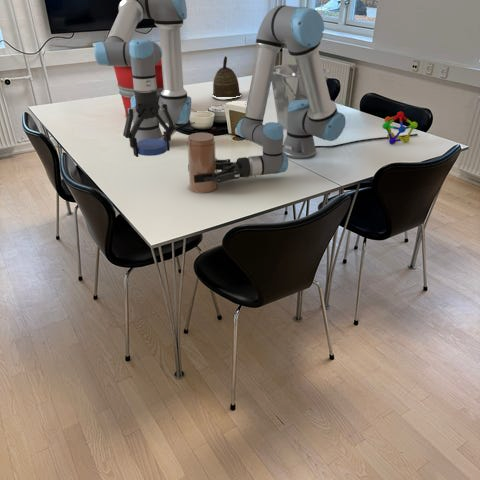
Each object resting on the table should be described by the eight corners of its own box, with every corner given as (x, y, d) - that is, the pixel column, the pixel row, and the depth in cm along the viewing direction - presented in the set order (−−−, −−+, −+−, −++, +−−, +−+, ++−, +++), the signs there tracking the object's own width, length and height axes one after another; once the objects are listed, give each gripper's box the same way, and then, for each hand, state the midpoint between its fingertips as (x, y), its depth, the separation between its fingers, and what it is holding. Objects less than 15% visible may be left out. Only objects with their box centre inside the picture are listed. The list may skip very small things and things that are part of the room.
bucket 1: (125, 105, 263) (118, 51, 247) (184, 106, 262) (180, 52, 246) (109, 123, 234) (99, 63, 218) (175, 124, 233) (170, 64, 217)
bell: (227, 105, 294) (202, 96, 282) (238, 66, 289) (213, 55, 277) (243, 108, 280) (217, 98, 268) (255, 66, 275) (229, 55, 263)
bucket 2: (296, 138, 215) (301, 78, 201) (255, 124, 234) (256, 68, 219) (335, 125, 232) (342, 70, 217) (294, 113, 251) (297, 61, 236)
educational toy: (377, 146, 209) (379, 114, 202) (384, 138, 219) (386, 107, 211) (411, 149, 202) (415, 116, 195) (417, 141, 212) (420, 109, 204)
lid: (174, 150, 159) (173, 143, 158) (148, 158, 152) (147, 151, 151) (154, 142, 166) (154, 136, 165) (129, 150, 159) (128, 144, 158)
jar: (186, 183, 171) (183, 133, 160) (211, 180, 174) (210, 130, 163) (194, 194, 163) (191, 142, 152) (219, 190, 166) (218, 139, 155)
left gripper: (114, 97, 140) (123, 162, 151) (182, 88, 151) (186, 149, 162) (107, 92, 146) (116, 155, 157) (173, 84, 156) (177, 144, 168)
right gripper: (257, 187, 162) (198, 195, 157) (239, 165, 181) (185, 171, 175) (258, 168, 158) (197, 175, 153) (239, 147, 177) (184, 153, 171)
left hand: (151, 152), depth 160 cm, fingers closed on lid, 11 cm apart
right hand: (191, 173), depth 164 cm, fingers closed on jar, 10 cm apart
